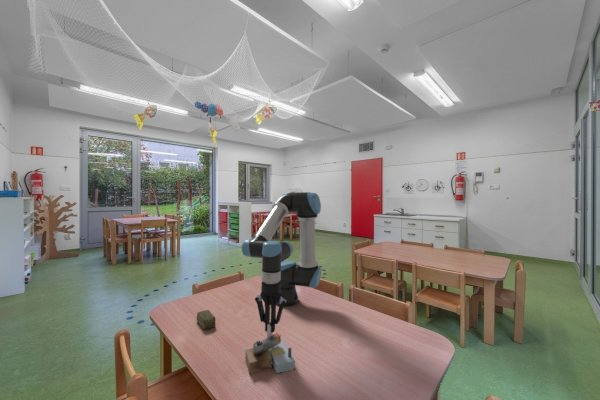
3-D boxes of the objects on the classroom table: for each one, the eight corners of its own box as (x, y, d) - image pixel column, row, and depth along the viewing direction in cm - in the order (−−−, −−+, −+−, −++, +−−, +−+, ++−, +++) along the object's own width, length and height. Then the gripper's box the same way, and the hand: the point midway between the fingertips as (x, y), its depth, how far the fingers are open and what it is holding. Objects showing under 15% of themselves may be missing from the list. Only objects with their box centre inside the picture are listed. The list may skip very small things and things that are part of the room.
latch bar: (257, 357, 91) (257, 345, 91) (251, 353, 94) (251, 341, 94) (281, 343, 100) (281, 333, 100) (275, 340, 102) (275, 329, 102)
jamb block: (266, 355, 99) (266, 345, 99) (271, 368, 92) (271, 357, 92) (245, 360, 96) (245, 349, 96) (249, 374, 89) (249, 362, 89)
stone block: (203, 331, 116) (203, 320, 116) (196, 321, 125) (196, 311, 125) (216, 327, 120) (216, 316, 120) (207, 318, 129) (207, 308, 129)
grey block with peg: (282, 345, 106) (282, 331, 106) (294, 368, 92) (295, 352, 92) (266, 349, 103) (266, 334, 103) (276, 373, 89) (276, 356, 89)
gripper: (252, 282, 98) (250, 342, 99) (283, 286, 95) (282, 347, 96) (259, 276, 105) (258, 331, 106) (289, 279, 102) (287, 336, 103)
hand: (269, 339), depth 101 cm, fingers closed
